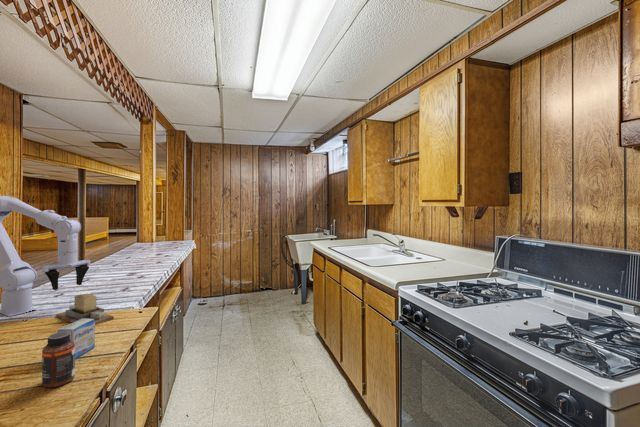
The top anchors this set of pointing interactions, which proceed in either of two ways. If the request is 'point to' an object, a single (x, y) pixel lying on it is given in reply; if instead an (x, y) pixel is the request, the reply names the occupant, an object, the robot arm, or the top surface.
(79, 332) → the medicine box
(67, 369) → the supplement bottle
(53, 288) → the robot arm
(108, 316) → the brown board
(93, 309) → the block
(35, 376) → the top surface
